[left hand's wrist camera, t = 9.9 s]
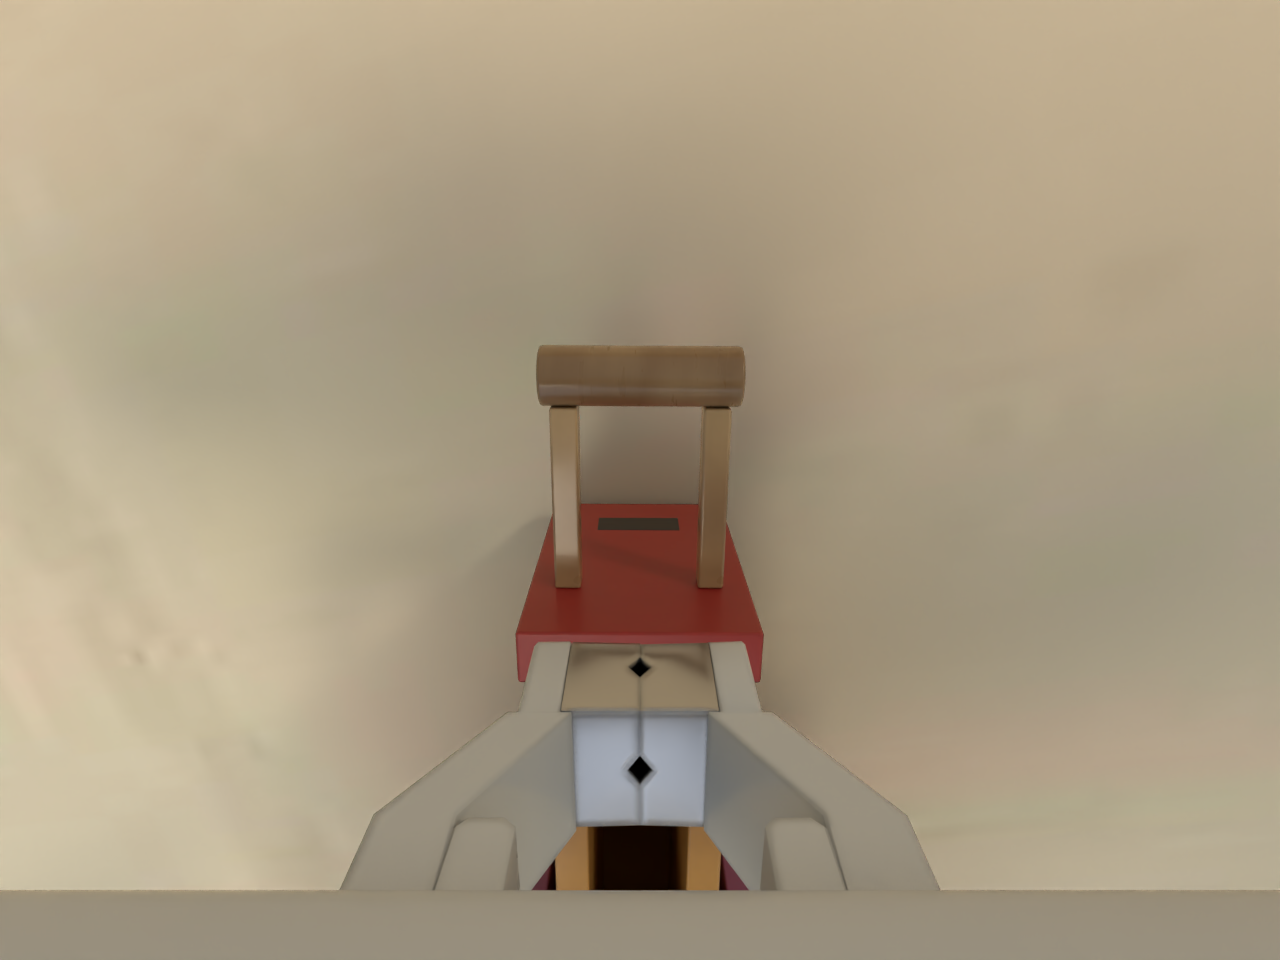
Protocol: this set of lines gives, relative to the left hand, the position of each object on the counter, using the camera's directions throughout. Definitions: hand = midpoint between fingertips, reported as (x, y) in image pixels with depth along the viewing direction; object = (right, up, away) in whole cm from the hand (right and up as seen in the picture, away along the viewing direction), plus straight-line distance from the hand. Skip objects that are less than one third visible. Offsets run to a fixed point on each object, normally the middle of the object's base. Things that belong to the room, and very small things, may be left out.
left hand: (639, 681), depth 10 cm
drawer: (0, -4, +14) cm, 14 cm away
